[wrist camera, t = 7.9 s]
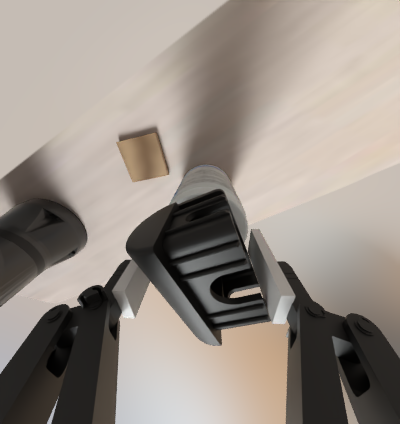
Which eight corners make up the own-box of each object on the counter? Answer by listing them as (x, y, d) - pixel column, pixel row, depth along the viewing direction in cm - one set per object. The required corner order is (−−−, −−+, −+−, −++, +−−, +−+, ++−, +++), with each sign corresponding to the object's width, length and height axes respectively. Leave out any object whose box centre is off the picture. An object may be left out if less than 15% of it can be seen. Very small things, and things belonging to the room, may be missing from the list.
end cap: (148, 209, 14) (102, 265, 8) (220, 180, 12) (231, 222, 6) (193, 279, 18) (185, 352, 12) (252, 264, 16) (277, 339, 10)
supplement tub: (175, 171, 28) (145, 201, 15) (225, 157, 26) (242, 177, 13) (190, 215, 32) (177, 270, 19) (234, 205, 30) (254, 258, 17)
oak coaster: (135, 180, 29) (132, 182, 28) (119, 142, 26) (116, 142, 25) (169, 173, 28) (167, 175, 27) (156, 132, 25) (154, 132, 24)
